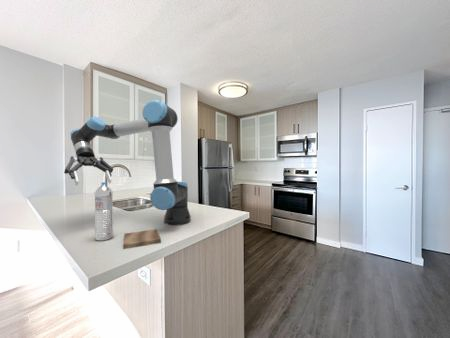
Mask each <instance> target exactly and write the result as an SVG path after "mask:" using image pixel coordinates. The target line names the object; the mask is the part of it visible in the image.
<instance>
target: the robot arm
mask: <svg viewBox="0 0 450 338" xmlns="http://www.w3.org/2000/svg"><path fill="white" fill-rule="evenodd" d="M142 117H143V118H140V119H139V118H138V119H134V120H129V121H123V122H120V123H119V122H118V123H114V124H106V122H105V121H104V120H103V119H101V118H99V117H98V116H92V117H91V118H90V119H88V120H87V121H86V122H85V123H84V124H83V125H82V126H81V127H80V128H76V129H73V130H72V131H71V132H70V140H71V142H72V145H73V149H74V152H75V156H76V157H74V156H73V155H71V156H70V159H69V161H68V163H67V165H66V166H65V168H64V170H63V171H64V172H63V173H64V174H65V175H67V174H68V175H69V176H70V179H71V180H73V181H74V184H75V185H74V186H78V185H79V183H80V179H79V177H78V174H77V171H78V170H79V169H80V168H82V167H94V168H97V169H99V170H100V171H102V172H104V174H105V177H106V180H107V182H108V184H111V183H112V180H113V179H112V173H113V172H114V168H113V167H112V166H111V165H110V164H109V163H108V162H106V161H105V160H104V158H103V157H102V156H101V157H99V158H97V157H96V155H95V153H94V150H93V147H92V144H91V141H93V140H94V138H96V137H97V136H98V137H102V138H107V139H111V140H117V139H119V138H121V137H124V136H129V135H135V134H140V133H145V132H151V135H152V138H151V139H152V146H153V147H152V148H153V159H154V160H153V161H154V169H155V181H154V182H153V183H152V184H153V189H152V191H151V192H150V196H149V198H150V199H149V200H150V202H151V204H152V206H153V207H154V208H155V209H157V210H160V211H165V214H164V217H163V223H164V224H165V225H168V226H170V225H171V226H177V225H179V226H180V225H185V224H188V223H190V222H191V220H192V219H191V214H190V210H189V208H188V201H189V200H188V199H189V198H188V196H189V194H188V192H189V191H188V190H189V187H188V183H187V182H186V181H178V180H177V179H175V177H174V167H173V166H174V165H173V157H172V146H171V145H172V143H171V133H170V132H171V131H172V130H173V128H174V127H175V126H176V125H177V124H178V121H179V120H178V118H179V117H178V114H177V112H176V110H174V109H173V108H171V107H170V106H168V105H167V104H166V103H165V102H163V101H160V100H158V99H153V100H152V99H151V100H149V101H148V102H146V104H145V105H144V106H143V108H142ZM76 162H77V164H75V165H74V163H76ZM73 165H74V166H73Z"/></svg>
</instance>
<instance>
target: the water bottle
mask: <svg viewBox="0 0 450 338" xmlns="http://www.w3.org/2000/svg"><path fill="white" fill-rule="evenodd" d="M100 184H101V185H100V186H99V187H98V188H97V189H96V190H95V191H94V233H95V234H94V235H95V237H94V238H95V241H98V242H104V241H108V240H110V239H112V238H113V236H114V208H113V203H114V202H113V195H114V194H113V193H114V192H113V190H112V188H111V187H109V186H108V185H107V182H105V181H104V182H101V183H100Z"/></svg>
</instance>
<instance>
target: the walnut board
mask: <svg viewBox="0 0 450 338" xmlns="http://www.w3.org/2000/svg"><path fill="white" fill-rule="evenodd" d="M122 243H123V244H122V245H123V247H122V249H123V250H125V249H130V248H138V247H143V246H148V245H155V244H161V243H162V239H161V237H160V234H159V231H158V229H157V228H155V229H148V230H141V231H134V232H125V233H124V235H123V242H122Z"/></svg>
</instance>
